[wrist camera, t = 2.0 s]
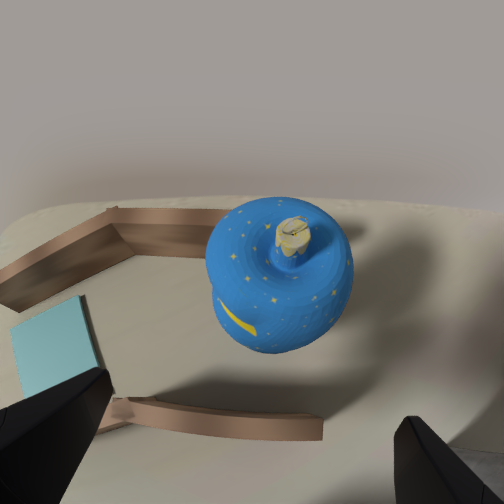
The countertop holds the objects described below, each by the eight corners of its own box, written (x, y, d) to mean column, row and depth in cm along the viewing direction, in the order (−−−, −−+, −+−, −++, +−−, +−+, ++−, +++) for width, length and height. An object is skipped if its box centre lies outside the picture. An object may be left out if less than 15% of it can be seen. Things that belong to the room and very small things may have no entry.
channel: (388, 297, 22) (416, 272, 17) (189, 559, 13) (173, 591, 9) (147, 154, 29) (133, 117, 24) (-14, 348, 20) (-49, 335, 15)
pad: (80, 296, 22) (77, 294, 22) (110, 395, 19) (108, 395, 19) (12, 330, 21) (9, 329, 21) (34, 420, 18) (31, 420, 17)
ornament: (222, 312, 22) (165, 171, 8) (290, 289, 22) (330, 129, 9) (246, 381, 20) (217, 356, 6) (316, 355, 20) (421, 276, 7)
